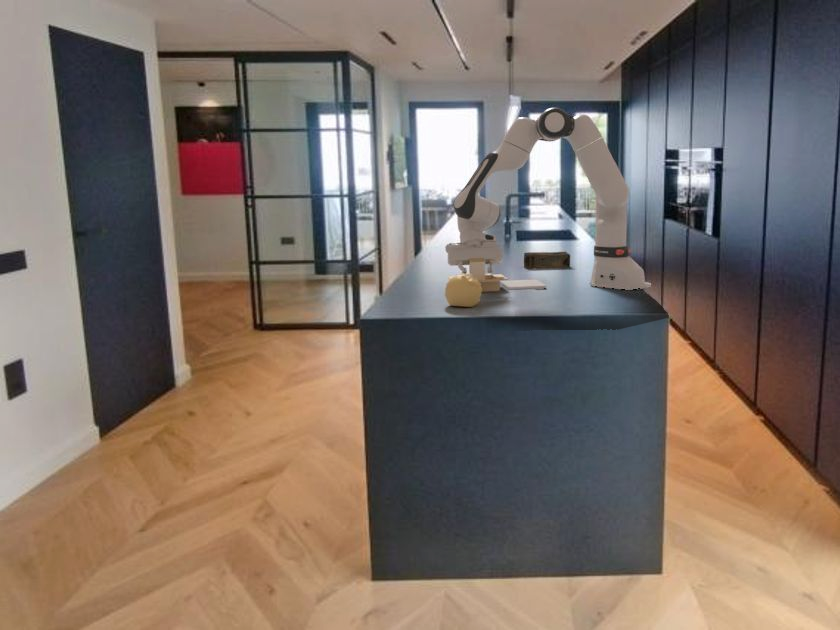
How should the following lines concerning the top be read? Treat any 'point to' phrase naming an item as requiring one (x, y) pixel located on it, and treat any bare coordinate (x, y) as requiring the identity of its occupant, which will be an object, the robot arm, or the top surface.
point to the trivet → (523, 284)
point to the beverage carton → (546, 260)
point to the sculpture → (463, 290)
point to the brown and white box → (477, 268)
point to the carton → (490, 282)
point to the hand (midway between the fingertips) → (477, 272)
